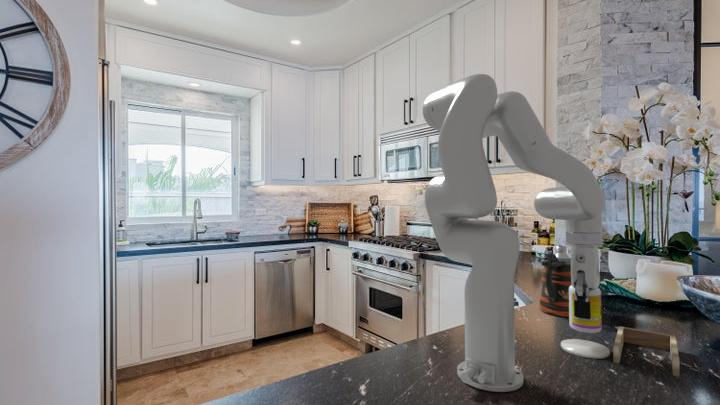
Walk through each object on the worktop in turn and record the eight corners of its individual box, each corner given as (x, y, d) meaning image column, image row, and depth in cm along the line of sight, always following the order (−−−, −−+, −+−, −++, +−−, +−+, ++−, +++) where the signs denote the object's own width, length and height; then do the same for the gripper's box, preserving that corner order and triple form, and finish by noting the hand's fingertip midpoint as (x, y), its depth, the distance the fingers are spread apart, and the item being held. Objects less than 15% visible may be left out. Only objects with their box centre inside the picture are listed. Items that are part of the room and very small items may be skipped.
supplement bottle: (607, 334, 84) (606, 278, 84) (575, 333, 85) (574, 277, 85) (594, 325, 91) (593, 273, 91) (565, 323, 92) (564, 272, 92)
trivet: (607, 362, 81) (607, 358, 81) (557, 351, 87) (556, 348, 87) (611, 348, 89) (611, 345, 89) (564, 339, 95) (564, 336, 95)
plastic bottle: (572, 300, 133) (571, 245, 133) (571, 304, 127) (570, 247, 127) (552, 298, 136) (551, 244, 137) (550, 302, 131) (549, 246, 131)
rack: (679, 376, 74) (679, 359, 74) (613, 362, 81) (613, 346, 81) (675, 350, 87) (675, 335, 87) (619, 339, 94) (619, 326, 94)
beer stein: (579, 325, 106) (578, 256, 106) (526, 314, 116) (526, 251, 116) (596, 312, 119) (595, 250, 119) (548, 303, 129) (547, 246, 129)
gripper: (597, 243, 79) (599, 327, 79) (606, 237, 92) (607, 308, 92) (558, 242, 84) (560, 320, 84) (572, 236, 97) (573, 303, 97)
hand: (584, 313), depth 88 cm, fingers closed on supplement bottle, 6 cm apart
